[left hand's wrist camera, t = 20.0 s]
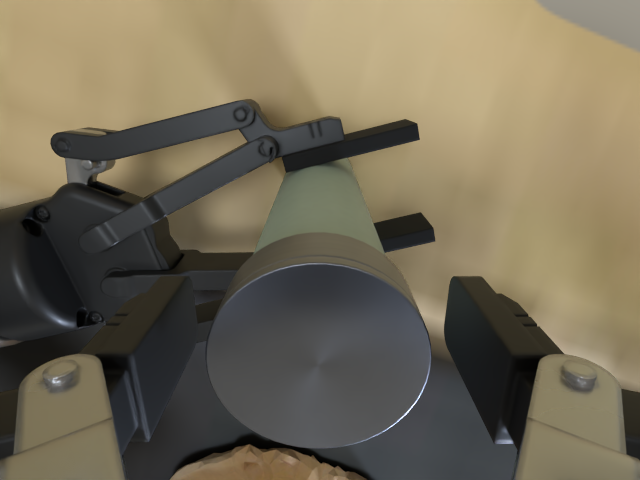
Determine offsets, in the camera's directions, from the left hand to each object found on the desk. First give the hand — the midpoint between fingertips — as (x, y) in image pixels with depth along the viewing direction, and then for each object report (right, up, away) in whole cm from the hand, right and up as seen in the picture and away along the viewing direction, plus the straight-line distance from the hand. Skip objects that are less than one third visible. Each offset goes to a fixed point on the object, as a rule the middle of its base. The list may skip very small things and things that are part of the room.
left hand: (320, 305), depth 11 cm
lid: (0, -1, -2) cm, 2 cm away
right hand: (+5, +5, +9) cm, 12 cm away
